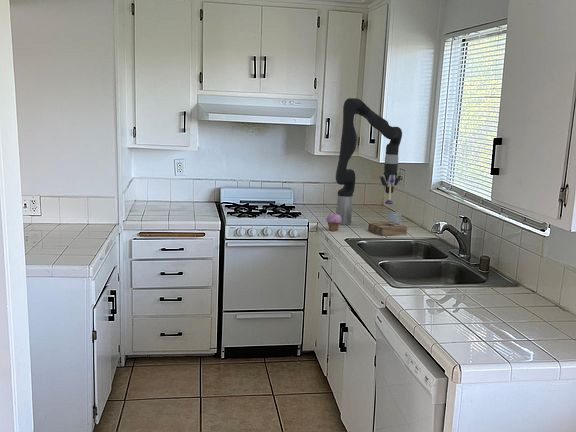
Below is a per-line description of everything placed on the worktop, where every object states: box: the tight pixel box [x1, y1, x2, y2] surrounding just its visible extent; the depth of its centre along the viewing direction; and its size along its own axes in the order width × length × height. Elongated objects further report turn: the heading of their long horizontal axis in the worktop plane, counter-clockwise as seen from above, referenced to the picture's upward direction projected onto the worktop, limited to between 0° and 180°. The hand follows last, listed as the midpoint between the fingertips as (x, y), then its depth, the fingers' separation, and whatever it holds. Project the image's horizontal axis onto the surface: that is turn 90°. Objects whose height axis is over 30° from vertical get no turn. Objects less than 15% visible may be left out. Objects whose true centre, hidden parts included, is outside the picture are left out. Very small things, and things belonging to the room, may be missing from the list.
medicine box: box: [387, 211, 403, 225], centre depth 353 cm, size 8×4×9 cm, turn 74°
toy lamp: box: [384, 175, 394, 205], centre depth 331 cm, size 5×5×17 cm
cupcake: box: [325, 212, 342, 232], centre depth 336 cm, size 9×9×10 cm
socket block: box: [368, 221, 408, 237], centre depth 336 cm, size 15×16×5 cm
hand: (389, 192), depth 332 cm, fingers closed on toy lamp
